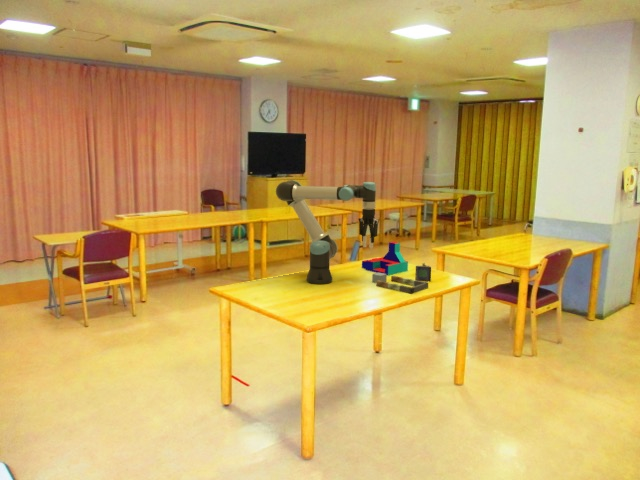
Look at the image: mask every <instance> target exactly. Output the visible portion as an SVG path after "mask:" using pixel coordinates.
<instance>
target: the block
mask: <svg viewBox="0 0 640 480" xmlns="http://www.w3.org/2000/svg"><path fill="white" fill-rule="evenodd" d="M387 276H388V275H387V274H384V273H379V272H378V273H376V272H373V273H372V275H371V277H372V279H371V282H372V283H374V284H376V281H378V280H380V281H384V282H387V280H388V277H387Z"/></svg>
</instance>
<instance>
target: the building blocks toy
mask: <svg viewBox="0 0 640 480" xmlns="http://www.w3.org/2000/svg"><path fill="white" fill-rule="evenodd" d="M400 247H401V243H400V242H398V241H391V242H388V250H387V253H386V254H385V255H384V256H381V257H375V258H371V259H366V260H365V259H364V260H361V269H365V271H368V272H372V273H378V272H379V273H384V274H387V276H391V275H392V276H394V275H396V274H401V273H405V272H408V269H409V261H408V260H406V259H405V258H404V256H403V255H402V252H400V249H401V248H400Z"/></svg>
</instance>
